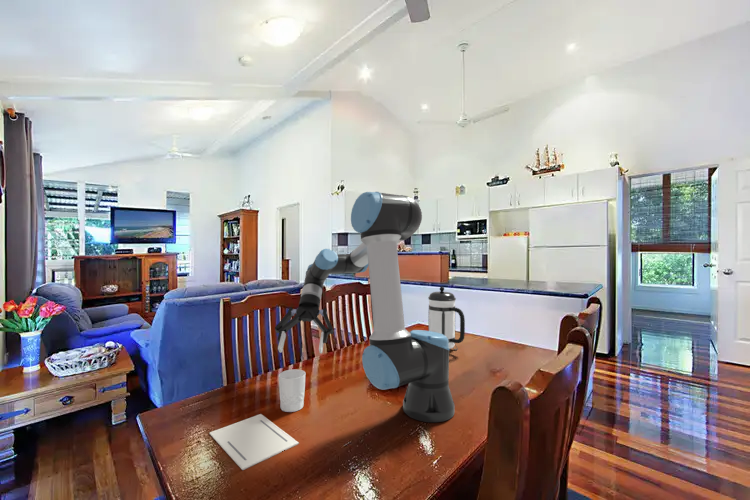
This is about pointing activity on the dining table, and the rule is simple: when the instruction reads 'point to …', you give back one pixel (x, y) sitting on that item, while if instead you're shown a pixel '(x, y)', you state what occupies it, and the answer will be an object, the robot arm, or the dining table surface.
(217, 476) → the dining table surface
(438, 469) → the dining table surface
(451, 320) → the coffee press
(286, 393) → the white cup
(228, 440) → the paper sheet
